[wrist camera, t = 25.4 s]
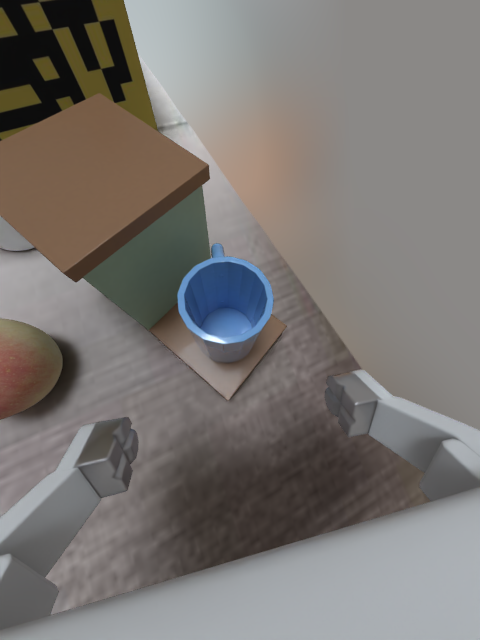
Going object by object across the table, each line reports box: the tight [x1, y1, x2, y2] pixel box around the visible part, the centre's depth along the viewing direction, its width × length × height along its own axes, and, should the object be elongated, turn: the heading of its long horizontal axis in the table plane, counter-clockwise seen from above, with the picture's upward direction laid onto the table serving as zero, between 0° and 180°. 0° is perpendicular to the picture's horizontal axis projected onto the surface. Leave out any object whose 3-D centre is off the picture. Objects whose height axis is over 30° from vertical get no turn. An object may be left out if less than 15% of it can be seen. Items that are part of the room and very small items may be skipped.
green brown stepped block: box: [0, 93, 287, 401], centre depth 19 cm, size 11×21×15 cm, turn 51°
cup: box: [177, 243, 274, 363], centre depth 18 cm, size 9×6×9 cm
